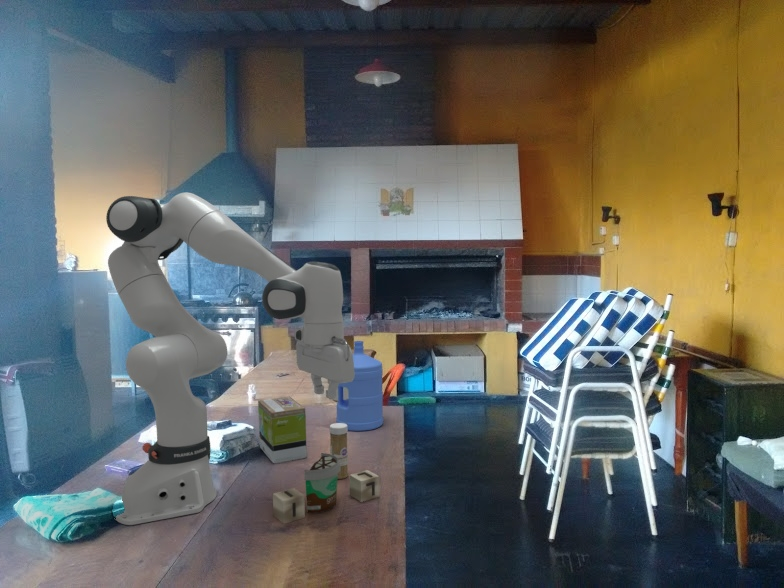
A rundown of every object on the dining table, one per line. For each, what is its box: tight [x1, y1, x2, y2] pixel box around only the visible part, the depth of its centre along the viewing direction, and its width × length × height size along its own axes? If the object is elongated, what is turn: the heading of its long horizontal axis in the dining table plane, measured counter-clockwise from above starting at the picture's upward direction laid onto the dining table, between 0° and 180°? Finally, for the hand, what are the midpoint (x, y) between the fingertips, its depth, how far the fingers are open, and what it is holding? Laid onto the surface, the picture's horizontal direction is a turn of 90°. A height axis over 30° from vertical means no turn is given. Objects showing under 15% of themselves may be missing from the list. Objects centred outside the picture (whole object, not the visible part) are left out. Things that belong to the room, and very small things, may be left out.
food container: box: [303, 452, 341, 514], centre depth 131 cm, size 12×6×10 cm, turn 168°
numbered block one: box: [272, 487, 306, 525], centre depth 126 cm, size 5×5×5 cm
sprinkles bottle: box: [329, 422, 349, 480], centre depth 148 cm, size 5×5×14 cm
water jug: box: [335, 340, 384, 432], centre depth 193 cm, size 16×16×28 cm
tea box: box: [257, 395, 308, 464], centre depth 166 cm, size 15×10×15 cm, turn 27°
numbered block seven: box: [349, 469, 380, 503], centre depth 136 cm, size 5×5×5 cm
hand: (325, 395), depth 130 cm, fingers open, 4 cm apart
